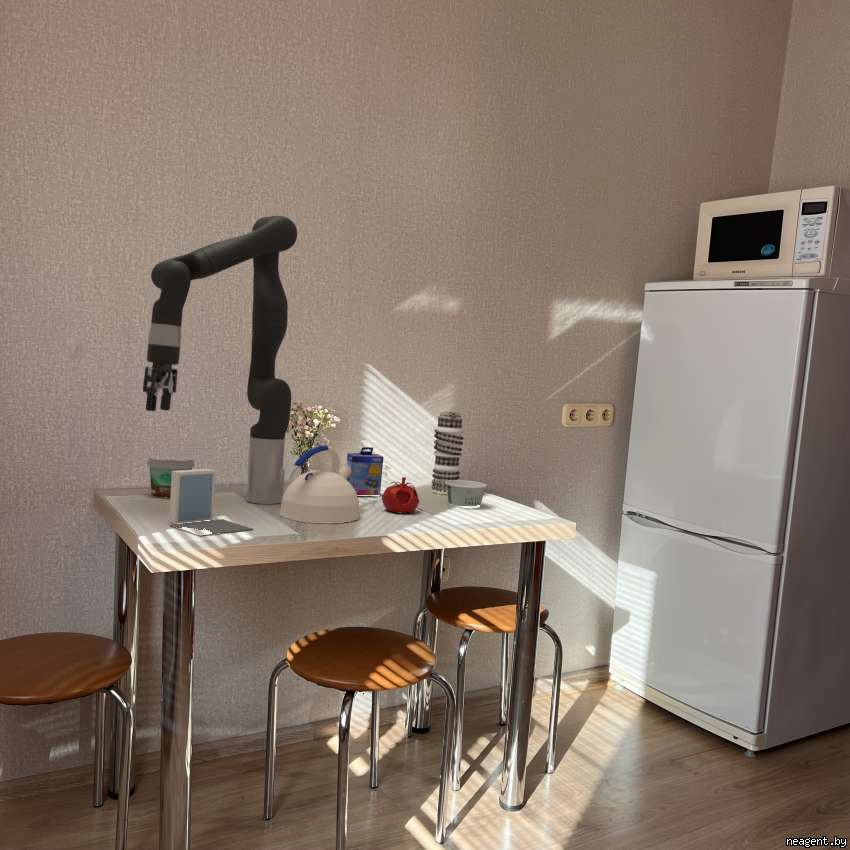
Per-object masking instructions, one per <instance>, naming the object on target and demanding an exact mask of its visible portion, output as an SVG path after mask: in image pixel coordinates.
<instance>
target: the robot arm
mask: <svg viewBox="0 0 850 850" xmlns="http://www.w3.org/2000/svg"><path fill="white" fill-rule="evenodd" d="M297 239H298V230H297V227H296V224H295V223H294V221H292V220H291V219H290V218H289V217H286V216H285V215H284V216H283V215H270V216H264V217H261V218H259V219H257V220H256V221H255V223H254V224H253V226H252V229H251V231H250V232H247V233H245V234H242V235H239V236H235V237H231V238H228V239H223V240H220V241H216V242H214V243H211V244H208V245H206V246H203V247H200V248H198V249H195V250H193V251H191V252H188V253H186V254H183V255H179V256H174V257H172V258H169V259H165V260H162V261H160V262H158V263H157V264H155V266H154V267H153V268H152V270H151V273H150V278H151V281H152V284H153V285H154V286H155V287H156V288H157V289H159V290H160V295H159V298H158V299H157V300H156V301H154V303H153V305H152V312H151V322H150V327H149V332H148V341H147V350H146V351H147V352H146V361H147V362H148V363H152V365H151V366H146V367H145V368H144V377H143V385H142V392H143V393H145V394H146V404H145V410H146V411H149V412H155V411H157V401H158V393H159V391H160V390H161V396H160V397H161V399H160V407H159V408H160V410H161V411H170V410H171V402H172V396H173V394H174V393H176V392H177V384H178V383H177V382H178V369H177V368H174V367H173V366H176V365H179V363H180V356H181V345H182V343H181V342H182V322H183V311H184V310H183V309H184V307H185V304H186V301H187V298H188V294H189V292H190V288H191V281H194V280H202V279H205V278H208V277H211V276H213V275H215V274H218V273H221V272H223V271H226V270H227V269H230V268H232V267H234V266H237V265H239V264H242V263H244V262H246V261H249V260H252V266H253V284H252V285H253V286H252V287H253V290H252V291H253V295H252V298H253V299H252V312H251V316H252V317H251V327H252V329H251V348H250V349H251V350H250V351H251V353H250V355H251V356H250V365H249V366H250V367H249V373H248V378H247V379H248V380H247V389H246V397H247V401H248V403H249V405H250V406H251V407H252V408H253V409H254V410H257V411H258V412H259V415H258V416H259V417H258V421H257V422H256V423H255V424H253V425H252V426H251V427H250V430H249V431H250V432H249V448H248V464H247V466H248V467H247V481H246V483H247V484H246V501H247V502H249V503H251V504H252V503H253V504H259V505H260V504H263V505H266V504H267V505H273V504H281V503H282V497H283V495H284V483H285V482H284V481H285V467H284V463H285V461H284V458H285V444H286V443H285V441H286V440H285V439H286V433H287V431H288V428H289V424H290V417H291V409H292V390H291V388H290V386H289V383H287V381H285V380H284V379H281V378H276V374H275V373H276V358H277V355H278V352H279V351H280V350H279V349H280V348H281V345H282V343H283V340H284V339H285V336H286V333H287V329H288V317H289V316H288V315H289V314H288V313H289V311H288V310H289V308H288V307H289V305H288V299H287V296H286V292H285V289H284V287H283V284H282V280H281V277H280V271H279V265H280V264H279V262H280V261H279V260H280V259H279V258H280V253H283V252H286V251H288V250H289V249H291V248H293V246H294V245H295V243H296V241H297Z"/></svg>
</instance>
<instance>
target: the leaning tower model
mask: <svg viewBox="0 0 850 850" xmlns="http://www.w3.org/2000/svg"><path fill="white" fill-rule="evenodd" d="M437 418H438V419H437V426H436V429H434V430H433V431H434V435H433V437H434V438H435V440H434V441H433V443H434V445H433V449H434V450H435V451H434V452H433V455H434V457H435V459H434V464H433V469H432V472H433V474H431V475H432V476H431V477H432V478H433V479H432V480H431V490H436V491H440V492H441V491H442V492H447V484H446V483H445V482H446V481H449V480H460V476H459V475H460V474H461V472H460V458H461V457H462V455H463V454H462V453H461V452H462V451H463V448H462V447H460V446H462V445H464V442H463V440H464V439H465V438H464V437H463V436H462V434H463V427H462V426H463V420H464V418H463V417H462V414H461V413H459V412H455V411H442V412H440V414H439V415H438V416H437Z"/></svg>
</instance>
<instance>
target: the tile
mask: <svg viewBox="0 0 850 850" xmlns="http://www.w3.org/2000/svg"><path fill="white" fill-rule="evenodd" d="M215 484H216V470H215V469H212V468H202V469H201V468H199V469H197V468H196V469H192V470H180V471H172V477H171V497H170V498H169V499H170V500H169V501H170V504H169V521H168V522H171V523H170V524H172V523H175V524H177V523H184V522H185V523H186V522H194V521H204V520H214V502H215V501H214V499H215V486H216V485H215Z"/></svg>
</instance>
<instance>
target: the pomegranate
mask: <svg viewBox="0 0 850 850" xmlns="http://www.w3.org/2000/svg"><path fill="white" fill-rule="evenodd" d="M406 480H407V477H405V476H403V477H401V482H400V481H391V482H390V484H392V485H389V486H387V487H386V488H385V490H384V492H383V494H382V495H381V501H382V504H383V506H384V508H385V509H386V510H387V511H389V512H391V511H393V513H395V512H401V513H400V514H407V513H406V512H412V513H413V511H414V512H415V511H416V510H417V507H418V506H419V504H420V498H419V494H418V493H417V490H416V487H415V485H412V482H406ZM393 483H394V484H393Z"/></svg>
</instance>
